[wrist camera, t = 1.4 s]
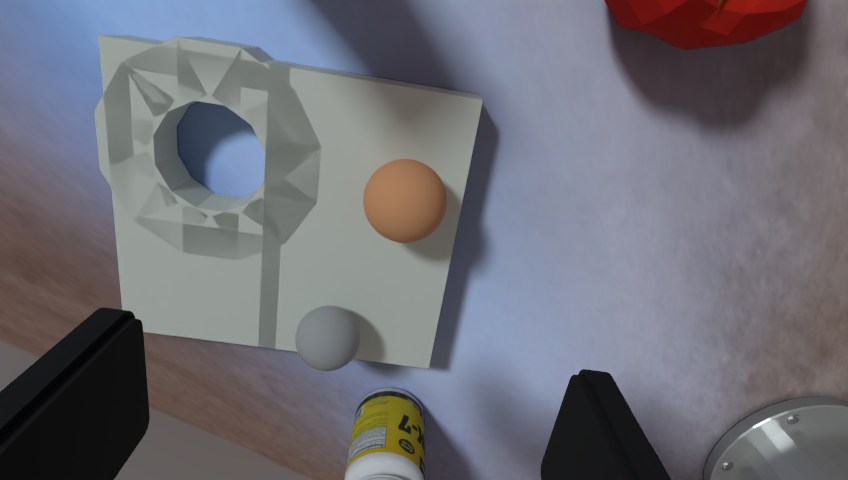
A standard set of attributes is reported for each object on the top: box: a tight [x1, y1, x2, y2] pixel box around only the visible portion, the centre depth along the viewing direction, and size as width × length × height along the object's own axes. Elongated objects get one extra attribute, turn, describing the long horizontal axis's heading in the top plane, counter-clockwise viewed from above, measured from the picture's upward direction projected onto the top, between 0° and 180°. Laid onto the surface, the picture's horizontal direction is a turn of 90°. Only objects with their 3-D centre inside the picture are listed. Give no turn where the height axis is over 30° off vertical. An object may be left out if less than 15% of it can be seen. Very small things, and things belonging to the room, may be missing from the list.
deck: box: [94, 35, 483, 369], centre depth 27 cm, size 18×16×2 cm
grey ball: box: [295, 306, 361, 371], centre depth 27 cm, size 4×4×4 cm
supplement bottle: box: [345, 388, 425, 480], centre depth 30 cm, size 5×5×8 cm
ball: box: [363, 159, 447, 243], centre depth 23 cm, size 4×4×4 cm
